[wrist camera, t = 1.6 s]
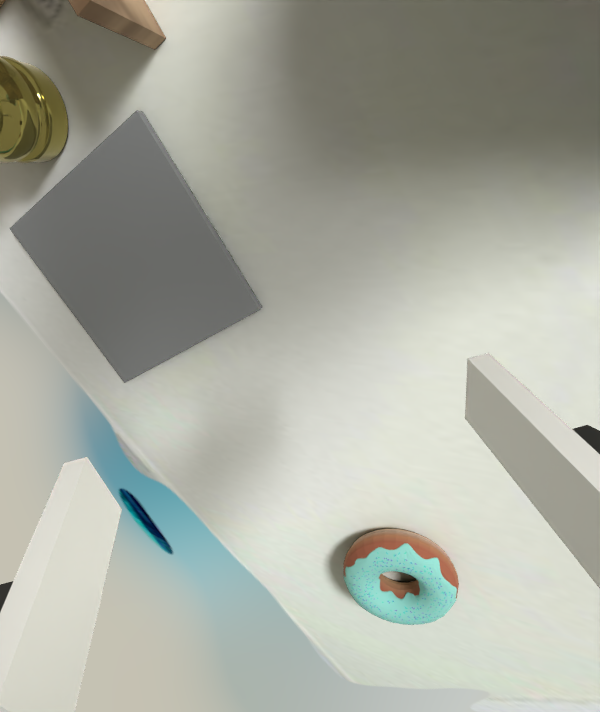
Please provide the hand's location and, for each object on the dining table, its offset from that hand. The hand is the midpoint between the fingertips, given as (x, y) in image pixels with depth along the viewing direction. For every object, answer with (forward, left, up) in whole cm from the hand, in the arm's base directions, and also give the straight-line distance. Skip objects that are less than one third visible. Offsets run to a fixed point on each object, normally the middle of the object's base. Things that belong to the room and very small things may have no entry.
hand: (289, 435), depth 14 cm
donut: (+30, +11, -23) cm, 39 cm away
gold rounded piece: (-8, -30, -23) cm, 38 cm away
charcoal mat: (+3, -21, -22) cm, 31 cm away
